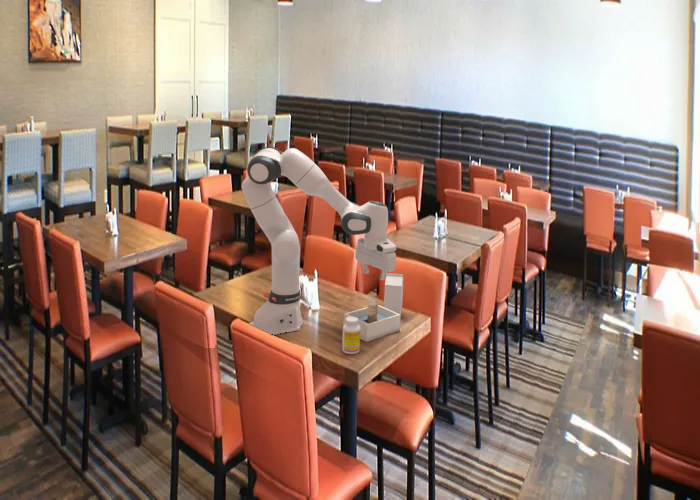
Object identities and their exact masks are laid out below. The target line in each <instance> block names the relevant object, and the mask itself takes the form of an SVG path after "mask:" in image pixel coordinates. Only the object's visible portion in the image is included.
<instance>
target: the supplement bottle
mask: <svg viewBox="0 0 700 500" xmlns="http://www.w3.org/2000/svg"><path fill="white" fill-rule="evenodd" d="M345 322H346V324H345V325H344V324H343V325H342V334H341V335H342V337H341V339H342V340H341V342H342V343H341V351H342V352H343V353H345V354H348V355H355V354H358V353H359V352H360V351H361V339H360V330H361V328H360V326H359V325H358V318H356V317H347V318H346V321H345Z"/></svg>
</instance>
